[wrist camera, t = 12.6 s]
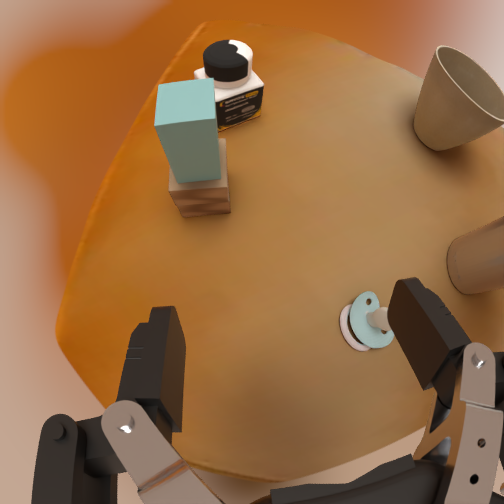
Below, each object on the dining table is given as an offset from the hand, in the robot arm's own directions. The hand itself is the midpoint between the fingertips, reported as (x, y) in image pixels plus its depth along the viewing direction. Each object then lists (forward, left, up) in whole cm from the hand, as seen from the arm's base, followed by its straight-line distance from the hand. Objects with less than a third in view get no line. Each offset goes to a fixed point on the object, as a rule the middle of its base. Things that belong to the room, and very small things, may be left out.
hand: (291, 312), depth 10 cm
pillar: (+4, -16, -17) cm, 24 cm away
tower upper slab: (+4, -16, -21) cm, 27 cm away
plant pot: (-35, -26, -25) cm, 50 cm away
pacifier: (-13, +3, -25) cm, 28 cm away
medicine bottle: (0, -30, -25) cm, 39 cm away
